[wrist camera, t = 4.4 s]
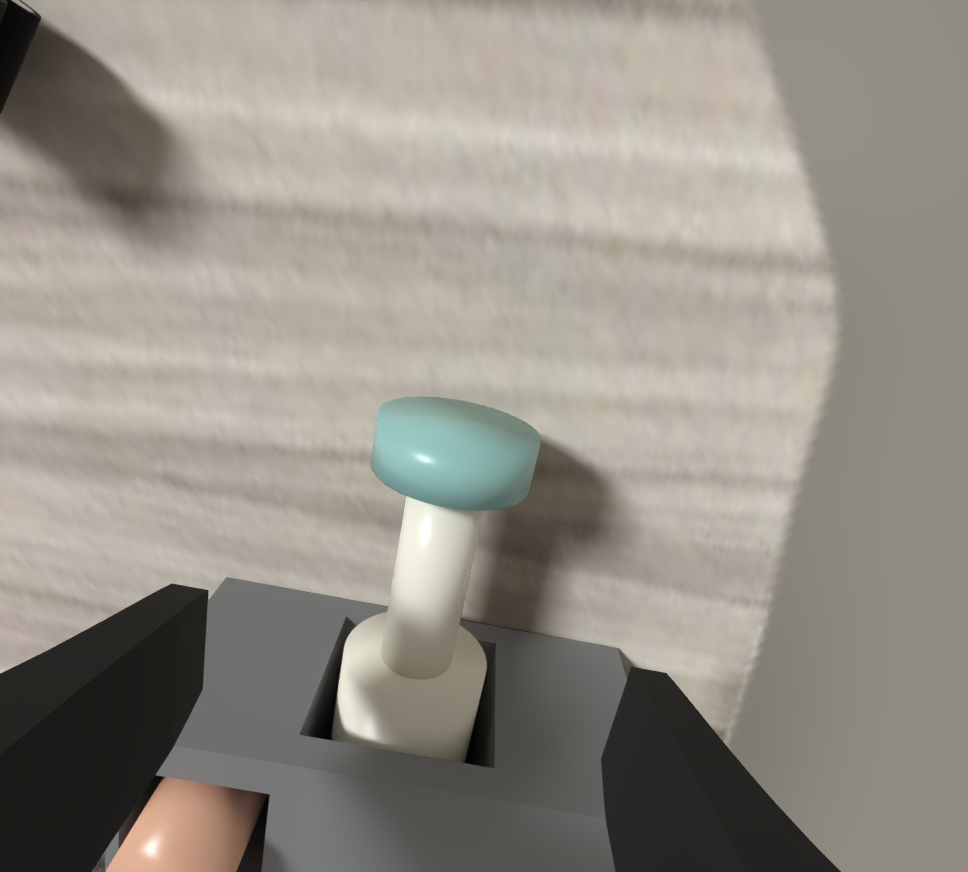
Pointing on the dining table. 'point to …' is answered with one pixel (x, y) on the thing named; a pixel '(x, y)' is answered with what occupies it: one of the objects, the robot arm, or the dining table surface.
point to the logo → (14, 41)
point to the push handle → (431, 575)
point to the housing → (389, 774)
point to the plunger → (190, 829)
